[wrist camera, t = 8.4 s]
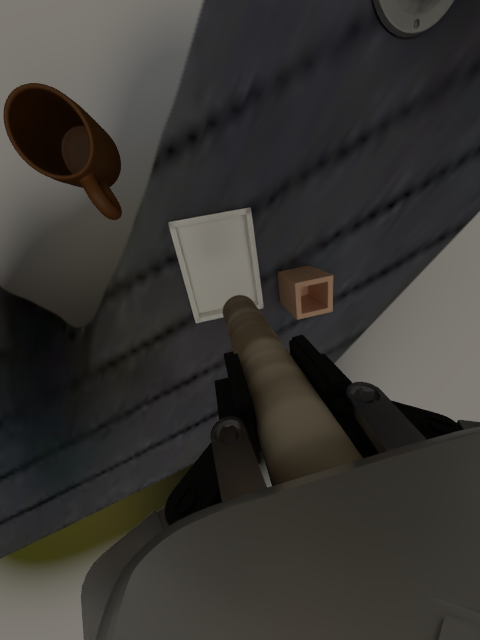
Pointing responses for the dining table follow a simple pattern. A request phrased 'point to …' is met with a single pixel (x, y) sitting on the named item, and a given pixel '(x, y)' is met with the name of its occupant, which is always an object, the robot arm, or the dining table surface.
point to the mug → (63, 143)
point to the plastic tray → (217, 260)
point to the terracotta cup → (306, 291)
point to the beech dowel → (284, 400)
